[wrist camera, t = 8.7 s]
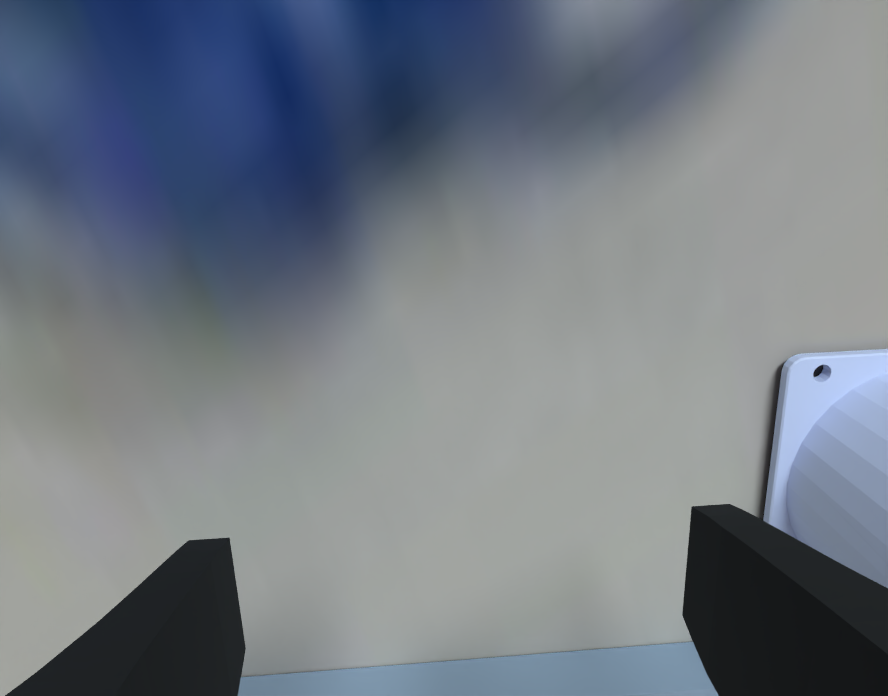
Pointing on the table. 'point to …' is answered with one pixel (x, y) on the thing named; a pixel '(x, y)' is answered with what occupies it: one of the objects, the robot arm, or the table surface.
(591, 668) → the control panel
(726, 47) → the table surface
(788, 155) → the table surface
